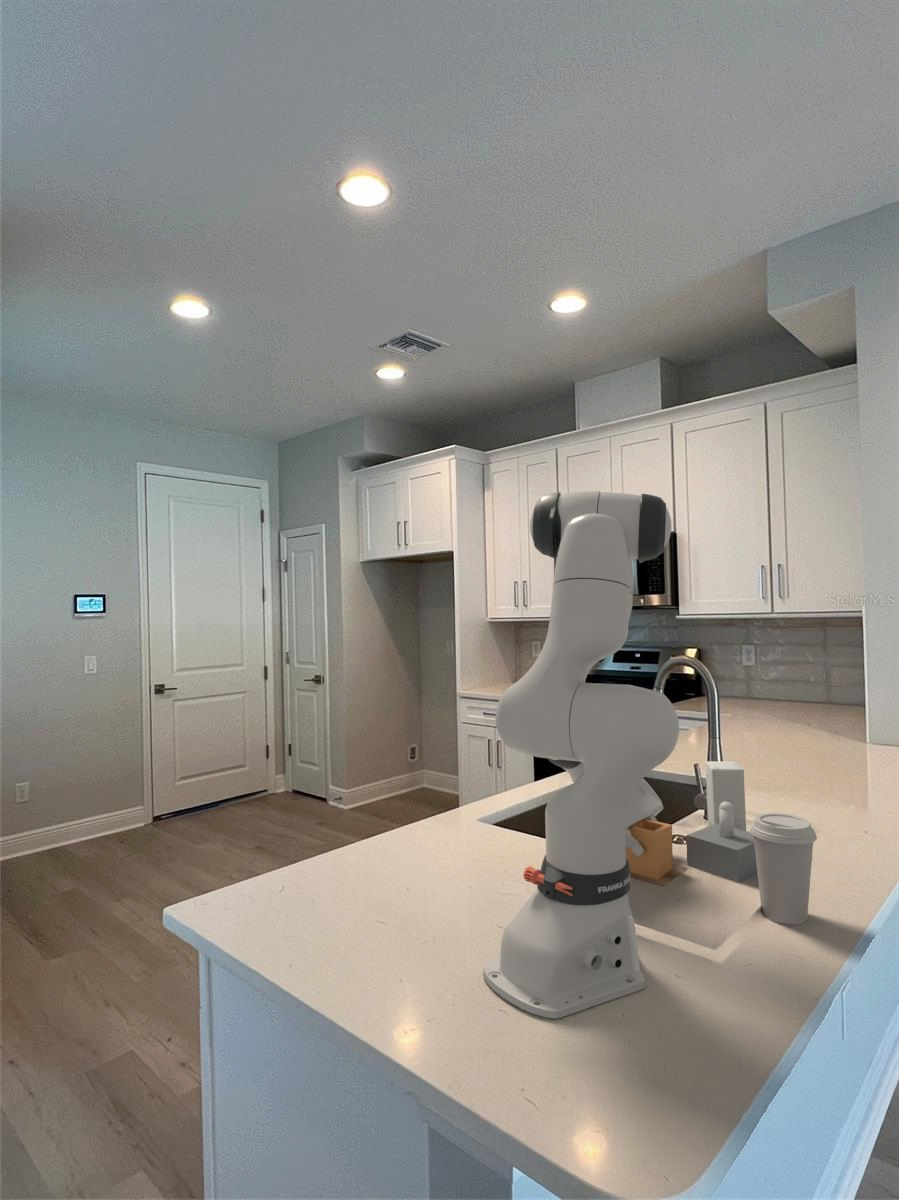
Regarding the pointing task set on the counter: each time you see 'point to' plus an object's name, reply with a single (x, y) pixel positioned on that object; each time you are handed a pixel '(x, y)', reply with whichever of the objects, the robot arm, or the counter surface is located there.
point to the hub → (723, 848)
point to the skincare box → (725, 791)
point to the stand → (665, 878)
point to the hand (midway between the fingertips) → (652, 847)
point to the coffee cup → (783, 865)
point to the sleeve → (651, 849)
